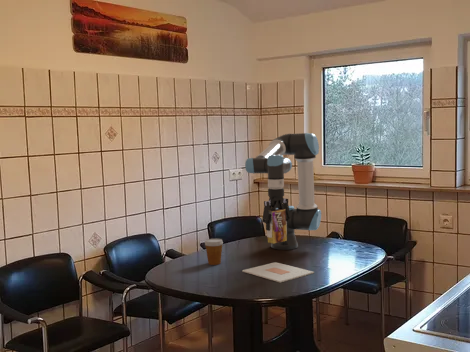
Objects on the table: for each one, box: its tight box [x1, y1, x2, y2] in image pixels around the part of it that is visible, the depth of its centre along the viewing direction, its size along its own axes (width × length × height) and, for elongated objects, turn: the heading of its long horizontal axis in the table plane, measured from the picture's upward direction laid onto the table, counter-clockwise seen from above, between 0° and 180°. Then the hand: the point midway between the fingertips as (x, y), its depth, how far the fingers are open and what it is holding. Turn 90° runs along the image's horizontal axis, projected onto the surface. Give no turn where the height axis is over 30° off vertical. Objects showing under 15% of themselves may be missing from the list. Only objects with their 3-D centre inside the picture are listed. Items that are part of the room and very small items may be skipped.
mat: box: [242, 261, 315, 283], centre depth 261 cm, size 26×22×1 cm
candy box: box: [267, 209, 287, 244], centre depth 259 cm, size 9×4×15 cm, turn 129°
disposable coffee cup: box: [204, 238, 224, 266], centre depth 280 cm, size 10×10×12 cm
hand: (276, 235), depth 259 cm, fingers closed on candy box, 9 cm apart
